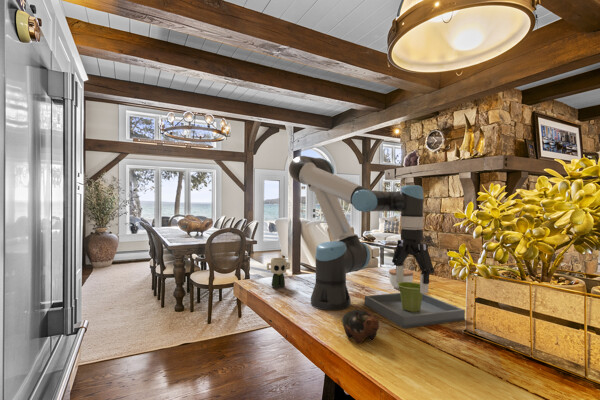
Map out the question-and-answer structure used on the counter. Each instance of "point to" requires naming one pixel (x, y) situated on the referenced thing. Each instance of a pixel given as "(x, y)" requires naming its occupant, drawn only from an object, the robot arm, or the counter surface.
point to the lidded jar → (407, 278)
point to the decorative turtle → (360, 325)
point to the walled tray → (428, 314)
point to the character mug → (278, 271)
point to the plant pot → (410, 296)
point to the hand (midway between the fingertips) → (411, 288)
